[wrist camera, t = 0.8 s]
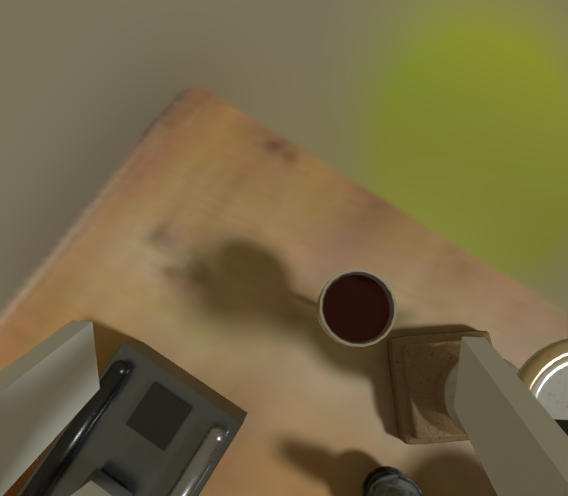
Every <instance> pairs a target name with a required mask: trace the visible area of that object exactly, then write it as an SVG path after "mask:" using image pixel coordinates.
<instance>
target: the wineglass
mask: <svg viewBox="0 0 568 496" xmlns="http://www.w3.org/2000/svg"><path fill="white" fill-rule="evenodd" d="M317 314H318V320H319V324H320V325H321V327H322V328H323V330H324V331H325V332H326V334H327V335H328V336H330V337H331V338H332V339H333V340H334V341H336V342H338V343H340V344H343V345H345V346H349V347H365V346H369V345H372V344H376V343H377V342H379V341H380V340H382V339H383V338H384V337H386V335H387V334H388V333H389V331H390V330H391V329H392V327H393V325H394V322H395V319H396V316H397V303H396V300H395V297H394V294H393V291H392V290H391V288H390V287H389V286H388V284H387V283H386V281H384V280H383V279H382V278H381V277H379V276H378V275H377V274H375V273H372V272H369V271H367V270H359V269H352V270H348V271H344V272H341V273H340V274H338V275H337V276H335V277H333V278H332V279H331V280H330V281H328V283H327V284H326V285H325V286H324V288H323V289H322V290H321V293H320V296H319V298H318V301H317Z"/></svg>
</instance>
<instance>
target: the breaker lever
mask: <svg viewBox="0 0 568 496" xmlns="http://www.w3.org/2000/svg"><path fill="white" fill-rule="evenodd" d="M71 496H133V494H132V493H131V492H129V491H128V490H127V489H125V488H124V487H122V486H121V485H120V484H118V483H117V482H116V481H114V480H113V479H111V478H110V477H109V476H107V475H106V474H105V473H103V472H102V471H100V470H99V469H98V468H96V469H95V470H94V471H93V472H92V473H91V474H90V475H89V476H88V477H87V479H86V480H85V481H84V483H83V484H82V485H81V487H80V489H79V490H77V491H76V492H75V493H73V494H72V495H71Z"/></svg>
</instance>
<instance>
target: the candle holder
mask: <svg viewBox="0 0 568 496" xmlns="http://www.w3.org/2000/svg"><path fill="white" fill-rule="evenodd" d="M462 336H463V337H485V338H486V339H487V340H488V342H489V343H490V344H491V345H492V343H491V339H490V335H489V333H488V332H487V331H462V332H450V333H438V334H426V335H414V336H402V337H395V338H390V339H388V356H389V364H390V371H391V379H392V387H393V395H394V403H395V410H396V418H397V425H398V431H399V436H400V439H401V440H402V441H403V442H404V443H406V444H431V443H442V442H453V441H464V440H469V438H468V436H467V434H466V432H465V430H464V428H463V426H462V424H461V421H460V419H459V417H458V415H457V413H456V411H455V409H454V400H455V391H456V383H457V374H458V365H459V356H460V347H461V338H462ZM504 361H505V362H506V363H507V364H508V365H509V367H510V368H511V369H512V370H513V371H514V372H515V374H516V375H517V376H518V377H519V378H520V380H521V381H522V382H523V383H524V384H525V386H526V387H527V388H528V389H529V390H530V392H531V393H532V394H533V395H534V396H535V397H536V399H537V400H538V401H539V402H540V403H541V405H542V406H543V407H544V408H545V409H546V411H547V412H548V413H549V414H550V415H551V417H552V418H553V419H560V420H568V339H563V340H560V341H557V342H554V343H552V344H549V345H548V346H546V347H544V348H542V349H541V350H539V351H537V352H536V353H535V354H534V355H532V356H531V357H530V358H529V359H528V360H527V361H526V362H525V363H524V365H523V366H522V367H521V368H520V369H518V368H517V367H516V366H515V365H513V364H512V363H511V362H509V361H507V360H505V359H504Z"/></svg>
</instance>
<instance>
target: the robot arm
mask: <svg viewBox="0 0 568 496" xmlns="http://www.w3.org/2000/svg"><path fill="white" fill-rule="evenodd" d="M99 389H100V385H99V376H98V368H97V359H96V350H95V341H94V333H93V324H92V322H91V321H71V322H70V323H68V324H67V325H66V326H64V327H63V328H61V329H60V330H59V331H57V332H56V333H54V334H53V335H52V336H50V337H49V338H47V339H46V340H44V341H43V342H42V343H40V344H39V345H37V346H36V347H35V348H33V349H32V350H30V351H29V352H28V353H26V354H25V355H23V356H22V357H21V358H19V359H18V360H16V361H15V362H13V363H12V364H11V365H9V366H8V367H6V368H5V369H4V370H2V371H1V372H0V496H3V495H4V494H5V493H6V492H7V490H8V489H9V488H10V487H11V486H12V485H13V484H14V483H15V482H16V481H17V479H18V478H19V477H20V476H21V475H22V474H23V473H24V472H25V471H26V470H27V468H28V467H29V466H30V465H31V464H32V463H33V462H34V461H35V460H36V458H37V457H38V456H39V455H40V454H41V453H42V452H43V451H44V450H45V449H46V447H47V446H48V445H49V444H50V443H51V442H52V441H53V440H54V439H55V438H56V436H57V435H58V434H59V433H60V432H61V431H62V430H63V429H64V428H65V426H66V425H67V424H68V423H69V422H70V421H71V420H72V419H73V418H74V417H75V415H76V414H77V413H78V412H79V411H80V410H81V409H82V408H83V407H84V406H85V404H86V403H87V402H88V401H89V400H90V399H91V398H92V397H93V396H94V395H95V393H96V392H97V391H98V390H99ZM454 409H455V411H456V413H457V415H458V417H459V419H460V421H461V424H462V426H463V428H464V430H465V432H466V434H467V436H468V438H469V440H470V442H471V444H472V446H473V448H474V450H475V452H476V454H477V456H478V458H479V460H480V462H481V464H482V466H483V468H484V470H485V472H486V474H487V476H488V478H489V480H490V482H491V484H492V486H493V488H494V490H495V492H496V494H497V496H568V420H560V419H553V418H552V417H551V415H550V414H549V413H548V412H547V411H546V409H545V408H544V407H543V406H542V405H541V403H540V402H539V401H538V400H537V399H536V397H535V396H534V395H533V394H532V393H531V392H530V390H529V389H528V388H527V387H526V386H525V384H524V383H523V382H522V381H521V380H520V378H519V377H518V376H517V375H516V374H515V372H514V371H513V370H512V369H511V368H510V367H509V365H508V364H507V363H506V362H505V361H504V359H503V358H502V357H501V356H500V355H499V353H498V352H497V351H496V350H495V349H494V347H493V346H492V345H491V344H490V343H489V342H488V340H487V339H486V338H485V337H463V336H462V338H461V347H460V356H459V365H458V374H457V383H456V391H455V400H454Z"/></svg>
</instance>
